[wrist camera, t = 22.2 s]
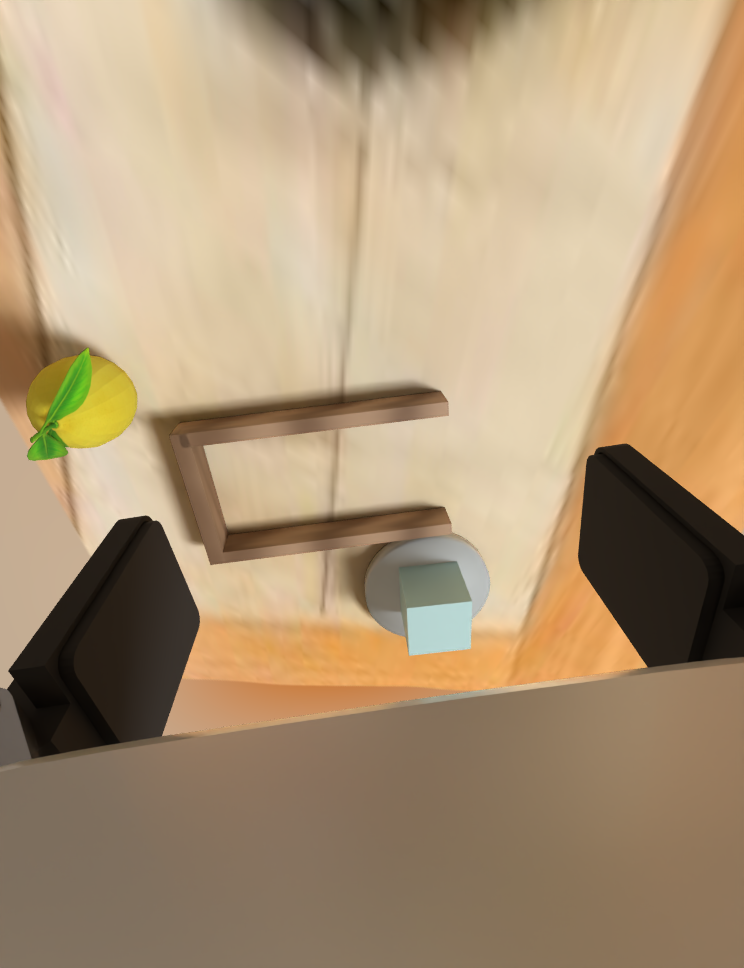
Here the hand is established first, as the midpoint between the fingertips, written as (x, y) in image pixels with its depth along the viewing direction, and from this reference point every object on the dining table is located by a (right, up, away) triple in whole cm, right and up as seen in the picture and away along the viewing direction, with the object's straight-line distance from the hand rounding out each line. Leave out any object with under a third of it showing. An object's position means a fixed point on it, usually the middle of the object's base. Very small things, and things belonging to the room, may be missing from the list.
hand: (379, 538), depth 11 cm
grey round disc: (+5, -8, +33) cm, 34 cm away
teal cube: (+5, -8, +31) cm, 33 cm away
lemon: (-18, +8, +23) cm, 30 cm away
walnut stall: (-4, +2, +27) cm, 27 cm away
